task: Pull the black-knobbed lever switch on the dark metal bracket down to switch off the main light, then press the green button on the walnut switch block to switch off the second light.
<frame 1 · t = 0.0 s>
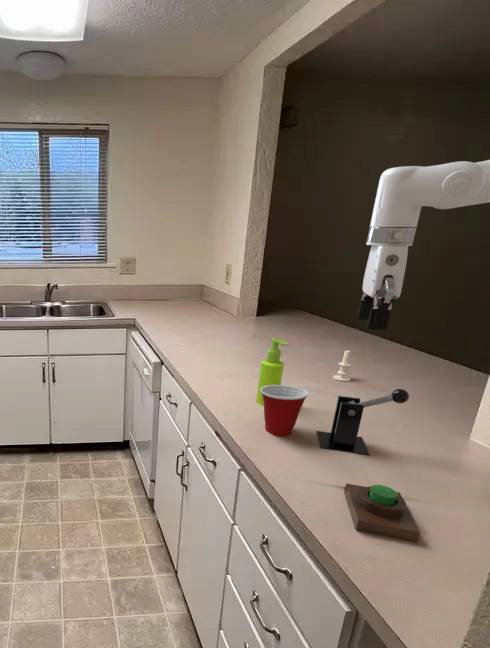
hand: (370, 324, 90), 30 cm above the countertop, tool pointing down, fingers open, 9 cm apart
soap dispenser: (267, 406, 126), on the countertop
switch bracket: (340, 446, 103), on the countertop
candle: (341, 379, 147), on the countertop
light lever: (374, 402, 98), point 12 cm above the countertop, hinge at 25.0°
button block: (377, 515, 79), on the countertop
plastic cup: (276, 434, 110), on the countertop
light button: (383, 495, 77), point 4 cm above the countertop, slide at 0.1 cm
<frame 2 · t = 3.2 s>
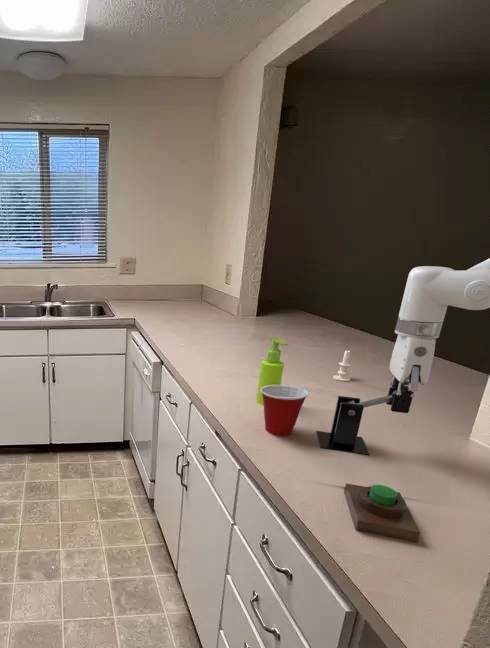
hand: (396, 407, 96), 11 cm above the countertop, tool pointing down, fingers closed on light lever, 3 cm apart
light lever: (374, 402, 98), point 12 cm above the countertop, hinge at 25.0°, touching gripper
everything else where it was.
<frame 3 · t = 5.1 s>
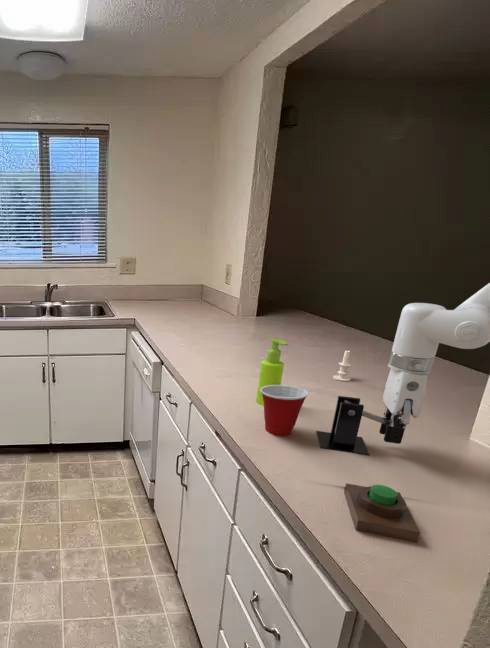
hand: (389, 437, 99), 4 cm above the countertop, tool pointing down, fingers closed on light lever, 3 cm apart
light lever: (372, 416, 99), point 9 cm above the countertop, hinge at -16.5°, touching gripper
everything else where it was.
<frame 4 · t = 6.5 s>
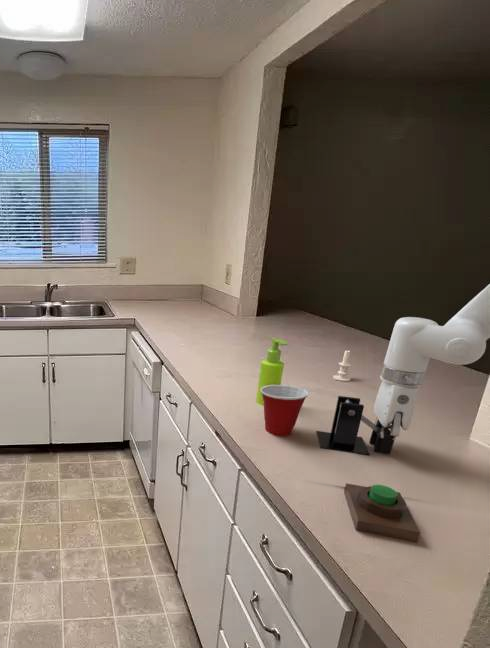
hand: (379, 448, 100), 1 cm above the countertop, tool pointing down, fingers closed on light lever, 3 cm apart
light lever: (367, 422, 99), point 7 cm above the countertop, hinge at -34.4°, touching gripper
everything else where it was.
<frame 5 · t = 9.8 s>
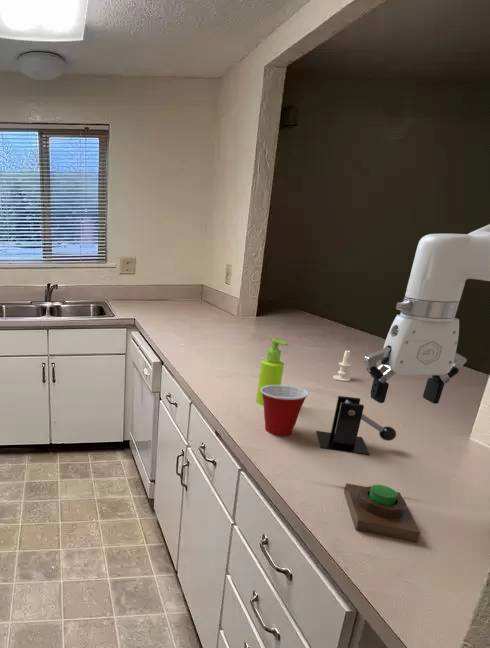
hand: (403, 400, 80), 19 cm above the countertop, tool pointing down, fingers open, 9 cm apart
light lever: (368, 421, 99), point 7 cm above the countertop, hinge at -30.5°
everything else where it was.
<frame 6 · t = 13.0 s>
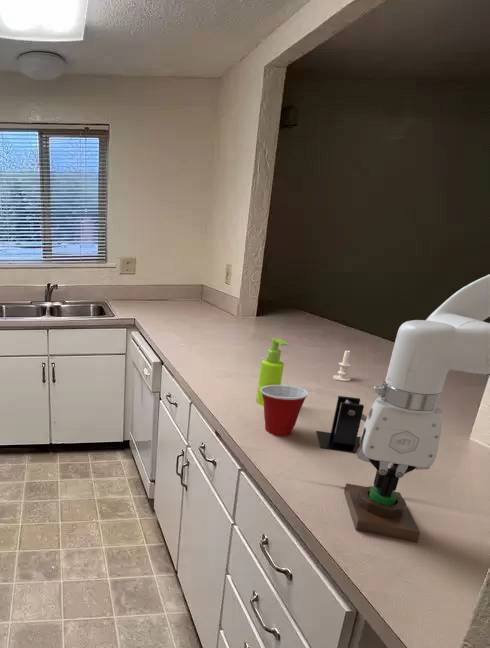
hand: (383, 491, 77), 5 cm above the countertop, tool pointing down, fingers closed
light button: (382, 495, 78), point 4 cm above the countertop, slide at -0.1 cm, touching gripper
everything else where it was.
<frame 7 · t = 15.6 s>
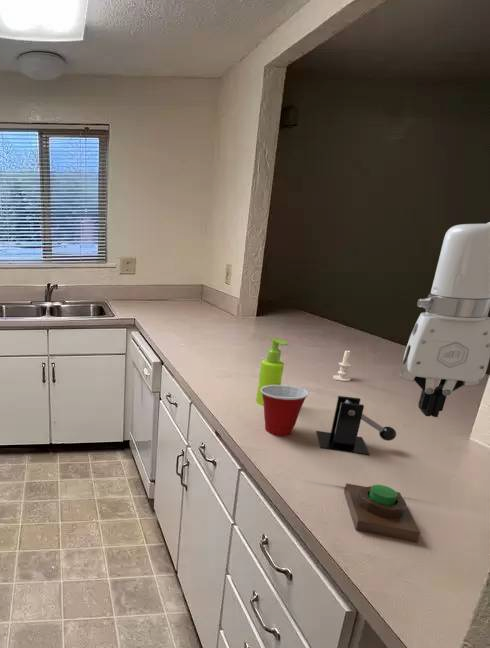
hand: (428, 413, 74), 20 cm above the countertop, tool pointing down, fingers closed
light button: (383, 495, 77), point 4 cm above the countertop, slide at 0.1 cm
everything else where it was.
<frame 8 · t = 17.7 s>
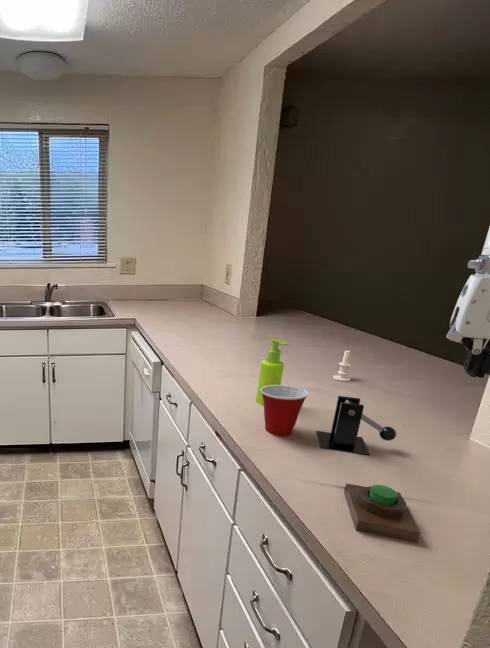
hand: (473, 374, 76), 25 cm above the countertop, tool pointing down, fingers closed
nothing on the countertop moved.
at the end: light lever at -30° (first picture: +25°); light button pushed in 1.1 cm at the most during the clip, back to where it started at the end; light button slide at 0.1 cm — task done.
